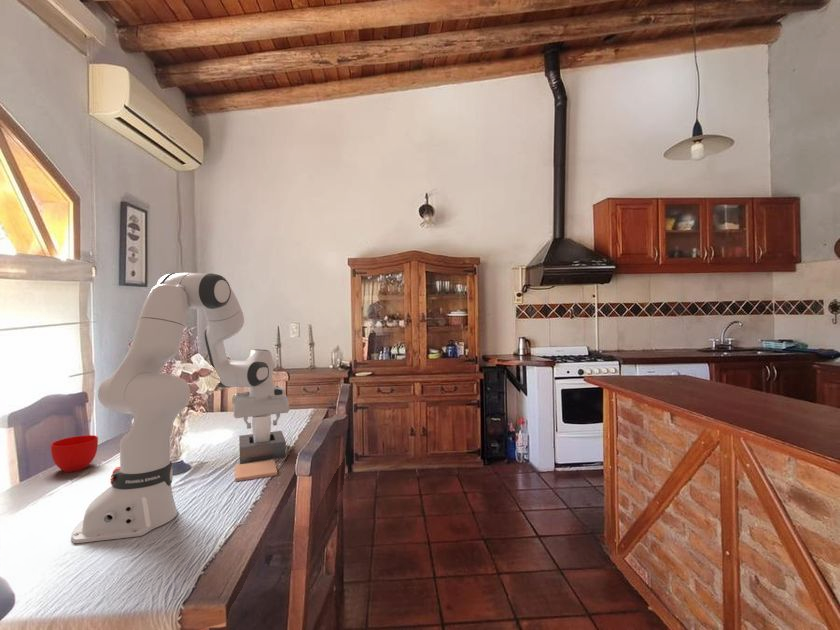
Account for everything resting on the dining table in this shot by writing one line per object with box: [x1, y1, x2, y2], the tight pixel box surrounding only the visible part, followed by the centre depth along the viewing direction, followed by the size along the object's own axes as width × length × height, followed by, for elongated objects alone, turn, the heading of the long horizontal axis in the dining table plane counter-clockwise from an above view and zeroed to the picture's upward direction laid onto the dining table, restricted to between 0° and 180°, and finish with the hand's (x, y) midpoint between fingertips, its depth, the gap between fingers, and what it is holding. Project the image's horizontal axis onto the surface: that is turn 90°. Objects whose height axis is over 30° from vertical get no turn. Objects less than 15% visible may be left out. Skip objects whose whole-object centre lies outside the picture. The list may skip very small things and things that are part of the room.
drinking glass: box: [251, 414, 272, 443], centre depth 163 cm, size 7×7×15 cm
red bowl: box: [50, 434, 99, 473], centre depth 152 cm, size 13×17×10 cm
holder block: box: [238, 430, 287, 465], centre depth 163 cm, size 16×16×6 cm
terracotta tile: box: [234, 459, 278, 482], centre depth 145 cm, size 13×13×1 cm
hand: (262, 426), depth 163 cm, fingers open, 8 cm apart
